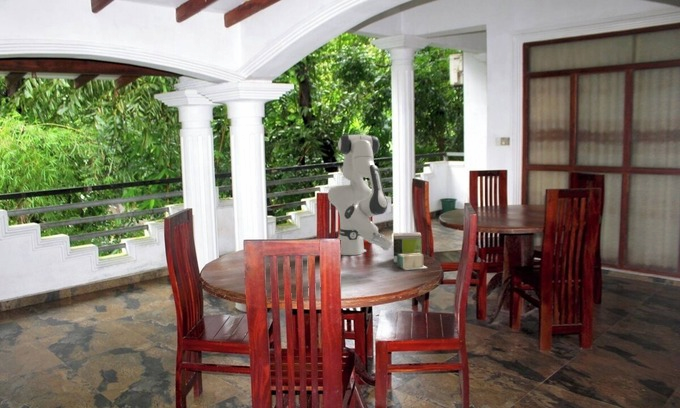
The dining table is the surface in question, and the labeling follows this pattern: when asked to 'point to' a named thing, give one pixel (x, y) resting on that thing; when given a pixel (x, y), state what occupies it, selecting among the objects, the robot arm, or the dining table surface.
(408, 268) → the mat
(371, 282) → the dining table surface
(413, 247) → the tea box
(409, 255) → the beech block
